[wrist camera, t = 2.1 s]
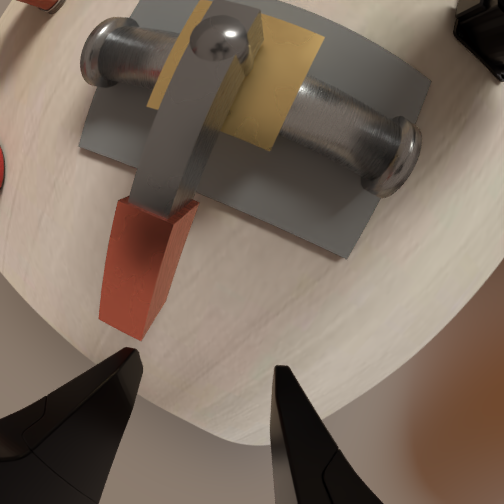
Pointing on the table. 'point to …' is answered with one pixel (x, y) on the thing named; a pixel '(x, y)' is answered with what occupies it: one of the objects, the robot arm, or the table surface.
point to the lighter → (46, 4)
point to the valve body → (266, 96)
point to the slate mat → (284, 150)
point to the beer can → (1, 167)
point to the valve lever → (175, 166)
